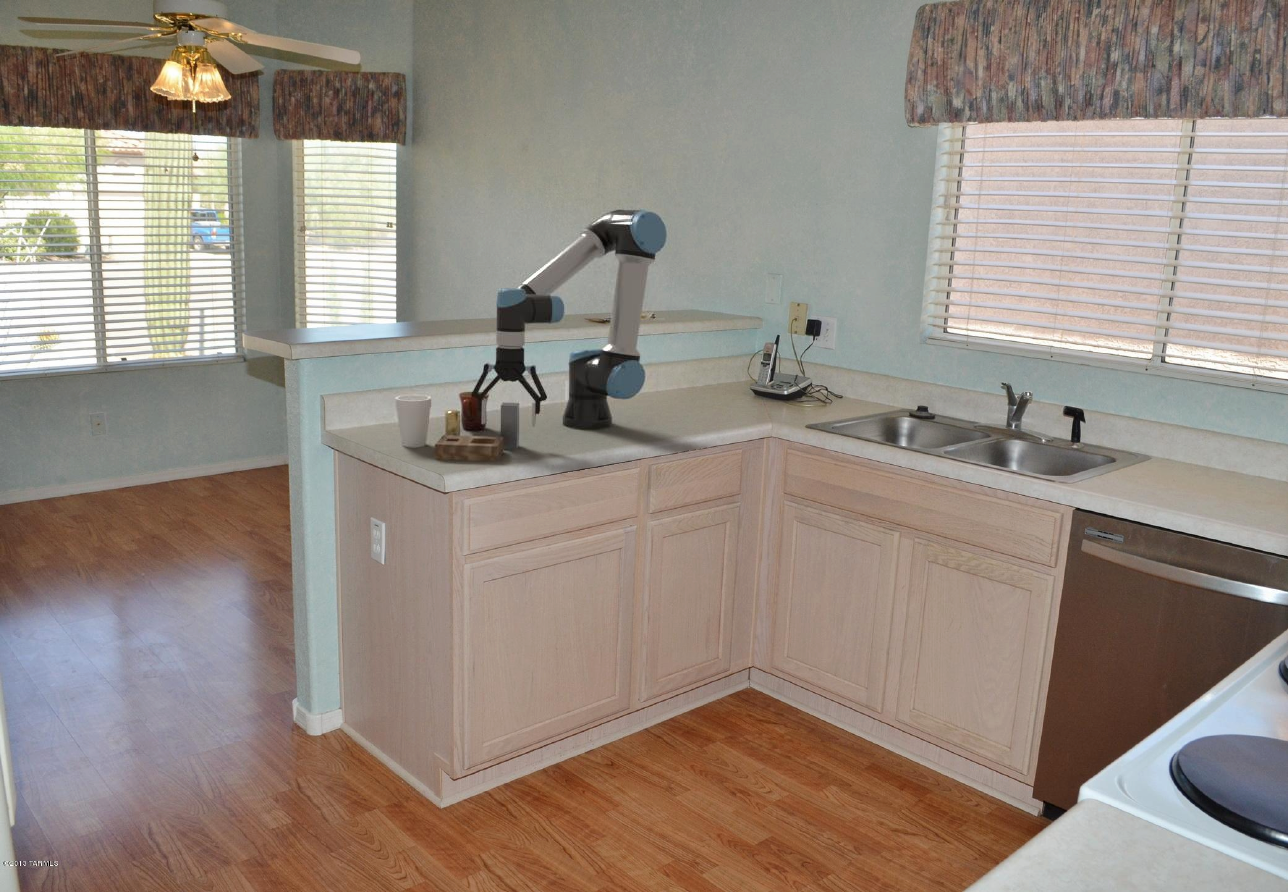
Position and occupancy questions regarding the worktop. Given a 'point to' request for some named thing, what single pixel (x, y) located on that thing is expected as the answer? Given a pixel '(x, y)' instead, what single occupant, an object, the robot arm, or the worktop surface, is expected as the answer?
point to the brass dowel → (452, 422)
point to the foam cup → (413, 419)
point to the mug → (471, 412)
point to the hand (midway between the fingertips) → (508, 424)
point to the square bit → (510, 425)
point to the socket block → (469, 448)
